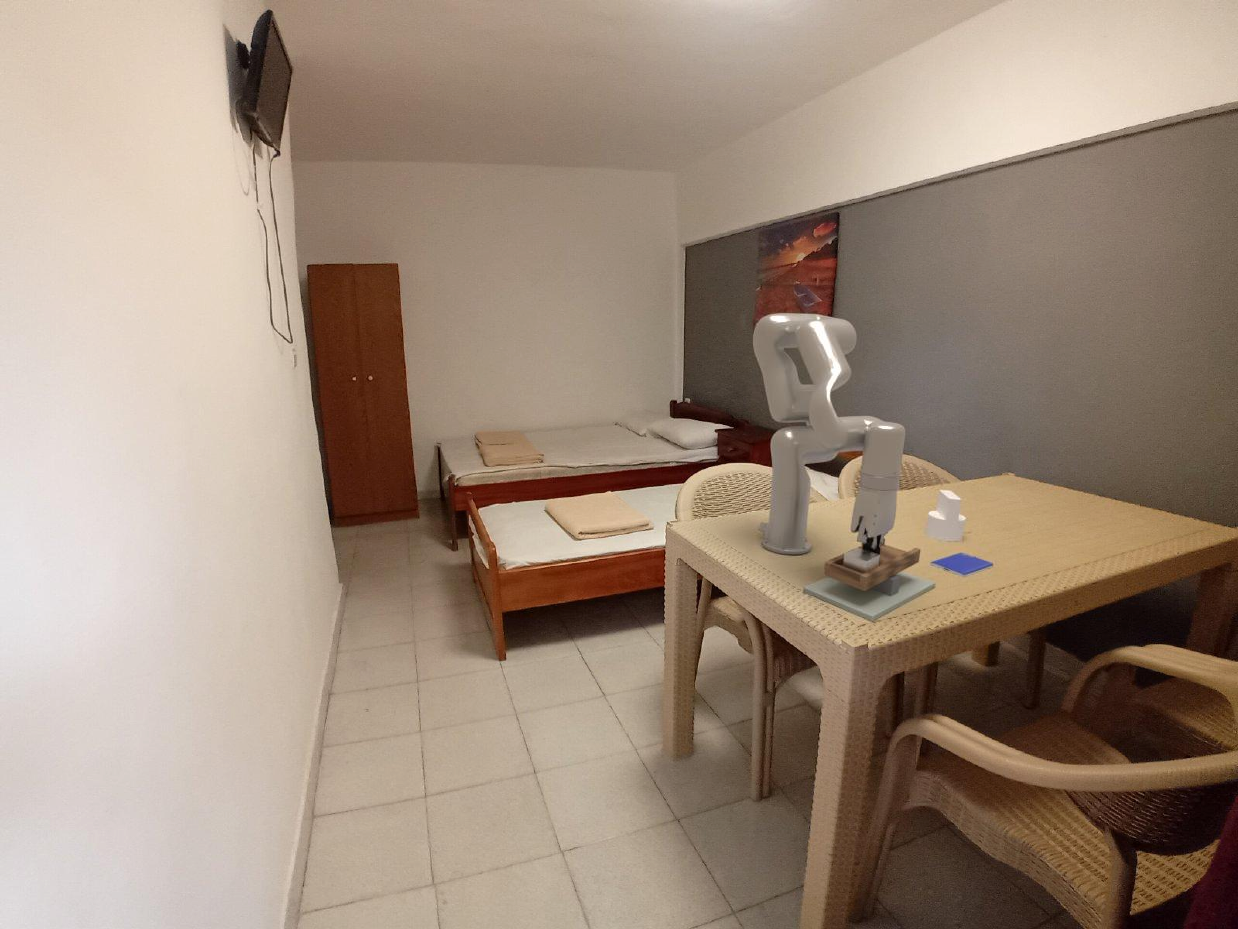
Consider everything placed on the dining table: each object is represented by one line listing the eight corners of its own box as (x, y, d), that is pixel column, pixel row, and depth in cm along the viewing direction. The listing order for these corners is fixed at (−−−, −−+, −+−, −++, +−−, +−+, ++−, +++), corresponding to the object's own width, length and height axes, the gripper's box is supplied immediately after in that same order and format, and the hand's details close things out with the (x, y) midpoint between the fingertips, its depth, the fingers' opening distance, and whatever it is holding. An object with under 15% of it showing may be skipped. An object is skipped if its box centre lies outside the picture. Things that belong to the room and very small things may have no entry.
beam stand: (868, 563, 144) (870, 545, 143) (934, 587, 131) (937, 567, 130) (803, 591, 128) (805, 571, 127) (872, 621, 116) (874, 599, 115)
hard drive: (960, 551, 149) (930, 561, 143) (993, 563, 143) (964, 573, 136) (959, 557, 150) (929, 567, 144) (992, 569, 143) (962, 579, 137)
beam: (879, 549, 139) (880, 537, 138) (918, 562, 132) (920, 549, 131) (823, 575, 126) (824, 562, 125) (864, 591, 119) (866, 577, 118)
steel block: (842, 571, 124) (844, 553, 123) (855, 564, 127) (857, 547, 126) (865, 579, 120) (866, 561, 119) (877, 572, 123) (879, 554, 122)
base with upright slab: (967, 543, 158) (974, 500, 155) (930, 540, 160) (937, 498, 157) (955, 532, 166) (962, 491, 164) (921, 529, 168) (927, 489, 165)
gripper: (881, 472, 130) (871, 550, 134) (842, 483, 121) (834, 566, 125) (914, 479, 124) (904, 561, 129) (877, 491, 115) (867, 578, 120)
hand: (869, 563), depth 127 cm, fingers closed
